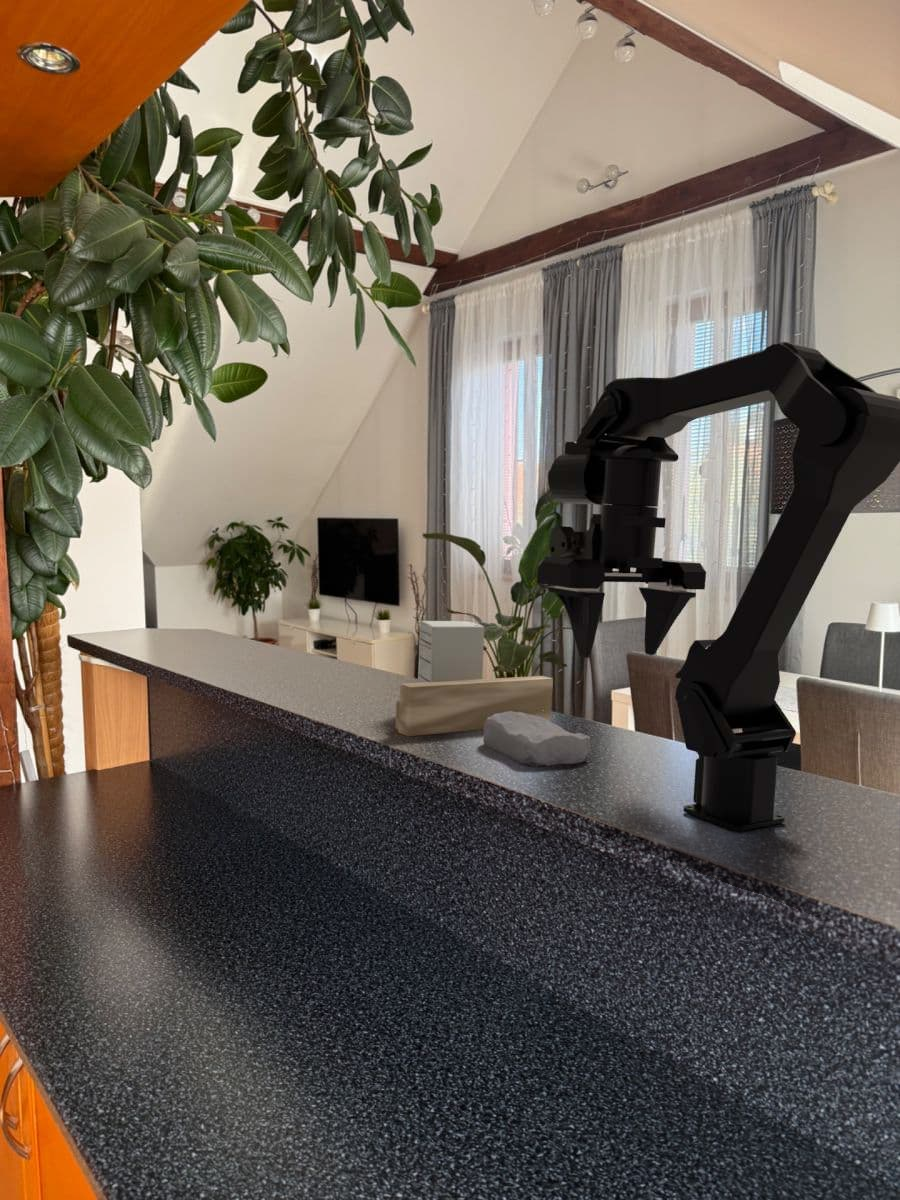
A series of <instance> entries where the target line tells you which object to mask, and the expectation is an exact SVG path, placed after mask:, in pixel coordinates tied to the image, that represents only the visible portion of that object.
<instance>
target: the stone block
mask: <svg viewBox="0 0 900 1200" xmlns="http://www.w3.org/2000/svg"><path fill="white" fill-rule="evenodd" d="M482 741H483V744H484V746H485V747H487V748H489V749H491V750H494V751H496V752H498V753H499V754H502V755H504V756H506V757H507V758H510V759H513V761H515V762H518V763H520V764H523V765H526V766H527V765H528V766H530V767H536V768H537V767H541V766H546V767H548V766H549V767H550V766H554V765H562V764H563V765H564V764H565V765H567V764H570V765H571V764H581V763H583V762H584V761H585V759H586V757H588V755H589V752H590V750H591V737H590V736H589V735H586V734H584V733H581V732H577V733H572V732H571V731H570V732H569V731H567V730H565V729H564V728H562V727H561V726H559V725H557V724H555V723H553V722H552V721H551V722H549V721H548V720H547V719H544V718H541V717H539V716H536V715H528V714H526V713H522V712H513V711H508V712H504V713H496V714H494V715H493V716H491V717H488V718H487V719H486V722H485V724H484V729H483V740H482Z"/></svg>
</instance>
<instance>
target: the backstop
mask: <svg viewBox="0 0 900 1200" xmlns="http://www.w3.org/2000/svg"><path fill="white" fill-rule="evenodd" d="M553 682H554V678H553V677H549V676H545V675H532V676H515V677H514V676H513V677H499V678H498V677H497V678H482V679H478V680H461V681H444V682H426V683H418V682H414V683H413V682H412V683H400V685H399V689H400V690H399V700H396V706H395V708H396V710H395V711H396V712H395V730H397V731H398V734H399V733H400V734H402V735H404V736H405V737H414V736H415V737H416V736H426V735H434V734H435V735H436V734H447V733H448V734H449V733H456V732H467V731H469V732H470V731H479V730H484V724H485V722H486V719H487V718H488V717H491V716H493V715H494V714H496V713H504V712H508V711H513V712H522V713H526V714H528V715H536V716H539V717H541V718H544V719H547V720H548V721H549V722H551V723H552V721H551V720H552V704H553V686H554V685H553V684H554V683H553ZM543 710H544V711H543Z"/></svg>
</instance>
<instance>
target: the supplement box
mask: <svg viewBox="0 0 900 1200" xmlns="http://www.w3.org/2000/svg"><path fill="white" fill-rule="evenodd" d="M418 640H419V641H418V644H419V645H418V672H417V683H426V682H444V681H461V680H478V679H483V670H484V669H483V668H484V650H485V649H484V647H485V627H484V626H483V625H480V624H479V623H478V624H477V623H475V622H472V621H467V620H466V621H465V620H462V621H461V620H460V621H459V620H420V621H419V639H418Z"/></svg>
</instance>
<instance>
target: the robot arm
mask: <svg viewBox="0 0 900 1200" xmlns="http://www.w3.org/2000/svg"><path fill="white" fill-rule="evenodd" d="M771 401H776V404H777V405H778V407H779V409H780V411H781V413H782V414H783V416H785V417H786V418H787V419H788V420H789V421H790V422H791V423H792V424H793V425H794V426H795V427H796V428H797V429H798V431H797V434H796V436H795V437H796V438H795V441H794V443H793V447H792V450H791V451H792V452H791V455H792V472H793V487H792V491H791V492H790V495H789V497H788V500H787V501H786V502H785V505H784V507H783V509H782V512H781V513H780V516H779V518H778V519H777V522H776V524H775V526H774V529H773V530H772V533H771V535H770V537H769V538H768V541H767V542H766V545H765V547H764V549H763V551H762V553H761V555H760V557H759V559H758V562H757V563H756V565H755V568H754V570H753V572H752V575H751V576H750V578H749V581H748V583H747V584H746V587H745V589H744V591H743V593H742V595H741V597H740V600H739V601H738V604H737V606H736V607H735V609H734V612H733V614H732V616H731V618H730V620H729V623H728V624H727V627H726V628H725V630H724V631H723V633H722V634H721V635H720V636H719V637H718V638H716V639H697V640H694V641H693V642H692V643H691V645H690V647H689V649H688V652H687V655H686V658H685V661H684V664H683V665H682V667H681V669H680V670H679V671H677V673H676V674H674V676H675V679H679V681H678V682H677V685H676V688H675V693H674V699H675V702H677V703H676V704H677V709H678V710H677V711H678V714H679V720H680V724H681V725H680V726H681V727H682V728H681V729H682V733H683V738H684V743H685V744H684V745H685V748H686V750H688V751H692V752H696V754H697V756H698V758H696V759H695V768H694V782H693V784H694V786H693V798H692V799H693V802H694V803H693V804H688V805H684V806H683V810H682V811H683V812H684V813H687V814H689V815H692V816H694V817H697V818H700V819H702V820H706V821H708V822H711V823H713V824H716V825H718V826H721V827H724V828H727V829H730V830H733V831H736V832H743V831H748V830H753V829H758V828H763V827H767V826H771V825H772V826H773V825H776V824H783V823H785V820H786V817H785V815H782V814H778V813H776V812H775V800H776V799H775V798H776V787H777V786H776V784H777V770H778V759H779V758H778V757H779V756H777V755H775V754H772V753H780V752H781V753H782V752H783V753H785V752H786V753H787V752H790V750H791V748H792V745H793V743H794V739H795V738H796V735H797V731H796V728H795V727H794V726H793V725H792V723H791V722H790V720H789V718H788V717H787V716H786V714H785V713H784V712H783V710H782V708H781V707H780V705H779V704H778V702H777V701H776V695H777V693H778V690H779V688H780V687H779V686H780V683H781V679H780V678H781V676H780V666H779V665H780V664H779V663H780V662H779V653H780V651H781V648H782V646H784V643H785V640H786V638H788V635H789V633H790V631H791V629H792V627H793V625H794V623H795V621H796V619H797V617H798V615H799V614H800V612H801V610H802V607H803V606H804V604H805V602H806V600H807V599H808V596H809V594H810V592H811V590H812V588H813V586H814V585H815V583H816V581H817V578H818V576H819V575H820V572H821V571H822V569H823V567H824V565H825V564H826V561H827V560H828V558H829V556H830V553H831V552H832V550H833V548H834V546H835V543H836V542H837V540H838V538H839V536H840V534H841V532H842V531H843V527H844V526H845V524H846V522H847V521H848V518H849V516H850V515H851V513H852V511H853V510H854V508H855V507H856V506H857V505H858V504H860V503H861V502H862V501H863V500H865V499H866V498H867V497H868V496H869V495H870V494H872V493H873V492H874V491H875V490H877V489H878V488H879V487H880V486H881V485H883V483H885V482H886V481H887V480H888V479H889V477H890V476H891V474H892V473H893V472H894V470H895V469H896V468H897V466H898V465H899V464H900V398H898V397H897V396H892V395H888V394H883V393H879V392H876V390H874V389H873V388H871V386H868V385H867V384H865V383H864V382H862V381H861V380H860V379H857V378H856V377H854V376H852V375H851V374H850V373H849V372H846V371H845V370H843V369H841V368H840V367H837V366H836V365H835V364H834V363H833V362H832V361H830V360H829V359H828V358H827V357H826V356H824V355H823V354H822V353H821V352H820V351H819V350H818V349H816V348H813V347H809V346H805V345H801V344H796V343H792V342H787V341H780V342H776V343H772V344H771V345H769V346H767V347H765V349H762V350H759V351H758V350H757V351H755V352H752V353H749V354H745V355H743V356H739V357H735V358H732V359H729V360H726V361H722V362H719V363H715V364H712V365H709V366H707V367H701V368H699V369H696V370H695V369H694V370H692V371H689V372H686V373H681V374H679V375H675V376H672V377H670V376H669V377H644V376H643V377H642V376H640V377H639V376H638V377H637V376H636V377H624V378H623V377H621V378H616V379H613V380H611V381H610V382H609V383H607V384H606V385H605V387H604V392H603V393H602V394H601V395H600V397H599V398H598V401H597V403H596V404H595V406H594V408H593V410H592V411H591V414H590V415H589V417H588V419H587V420H586V423H585V424H584V425H583V427H582V428H581V429H580V431H581V432H580V433H579V435H578V438H577V440H576V441H566V443H564V452H562V453H561V454H560V455H558V456H557V457H556V458H555V459H554V461H553V462H552V464H551V466H550V469H549V471H548V473H547V482H548V483H547V484H548V487H549V490H550V492H551V495H552V496H553V497H554V498H555V499H556V500H557V501H558V502H560V503H563V504H572V505H599V506H600V514H599V513H592V515H591V516H592V517H591V518H590V521H589V528H588V529H587V530H585V531H575V530H574V528H573V527H572V526H565V525H564V526H561V525H560V526H559V525H558V526H556V527H554V528H552V529H550V537H549V544H548V545H549V553H550V555H545V556H544V557H543V558H542V560H541V562H540V563H539V564H538V566H537V578H536V581H537V582H536V584H542V585H549V586H546V590H547V591H548V593H552V594H554V595H556V597H557V598H558V599H559V601H560V602H561V603H562V605H563V606H564V608H565V611H566V615H567V617H568V619H569V623H570V626H571V630H572V633H573V638H574V640H575V645H576V648H577V649H576V650H577V651H578V655H579V657H580V658H583V659H589V658H590V656H591V653H592V650H593V647H594V643H595V639H596V635H597V630H598V624H599V622H600V617H601V612H602V609H603V606H604V605H603V604H604V599H605V596H606V594H605V593H606V592H603V591H598V590H597V589H599V588H600V586H601V585H602V584H603V583H645V584H646V585H647V587H645V586H644V587H643V586H642V587H641V586H640V587H638V589H639V591H640V594H641V596H642V598H643V600H644V602H645V617H644V618H645V622H644V653H645V654H646V655H648V656H654V655H656V653H657V651H658V650H659V648H660V646H661V645H662V643H663V641H664V639H665V638H666V636H667V635H668V633H669V631H670V630H671V627H672V626H673V625H674V623H675V621H676V620H677V619H678V617H679V615H680V614H681V612H682V611H683V610H684V608H685V607H686V605H688V603H689V601H690V600H691V599H695V598H696V596H697V592H694V591H688V590H706V589H705V588H706V581H707V580H706V578H707V572H706V570H705V567H704V566H703V565H702V563H700V562H694V561H683V560H672V559H663V558H662V557H655V548H656V547H655V545H656V536H657V535H656V534H657V533H656V532H657V528H662V529H665V528H666V517H658V509H659V508H658V507H659V499H660V498H659V496H660V485H661V472H662V463H667V462H668V463H669V462H671V463H672V462H673V463H674V462H677V461H678V460H679V455H678V453H676V451H674V449H673V448H671V446H670V445H669V444H668V442H667V441H666V438H669V437H671V436H674V435H676V434H677V433H680V432H681V431H682V430H684V428H686V426H687V425H688V424H689V423H690V422H692V421H695V420H696V419H700V418H705V417H708V416H712V415H713V416H714V415H717V414H720V413H724V412H728V411H734V410H737V409H741V408H745V407H750V406H754V405H759V404H762V403H766V402H771ZM631 569H635V570H631ZM596 590H597V591H596ZM739 729H741V731H742V732H736V733H735V732H734V731H733V730H739Z"/></svg>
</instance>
